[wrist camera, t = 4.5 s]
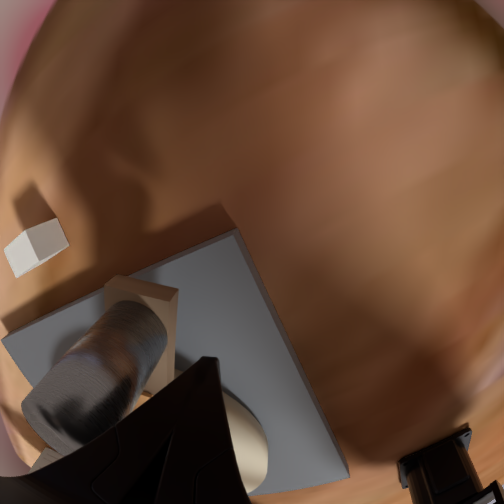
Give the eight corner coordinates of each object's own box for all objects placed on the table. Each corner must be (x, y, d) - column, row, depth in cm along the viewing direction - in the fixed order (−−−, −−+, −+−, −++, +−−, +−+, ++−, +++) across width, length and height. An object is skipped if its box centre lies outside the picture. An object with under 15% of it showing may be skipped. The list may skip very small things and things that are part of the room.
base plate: (348, 465, 17) (352, 491, 15) (146, 486, 21) (139, 505, 18) (193, 132, 11) (172, 126, 9) (-17, 281, 15) (-39, 294, 12)
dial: (248, 496, 17) (238, 576, 10) (90, 452, 17) (55, 517, 10) (326, 298, 11) (373, 468, 4) (41, 237, 11) (-80, 302, 4)
